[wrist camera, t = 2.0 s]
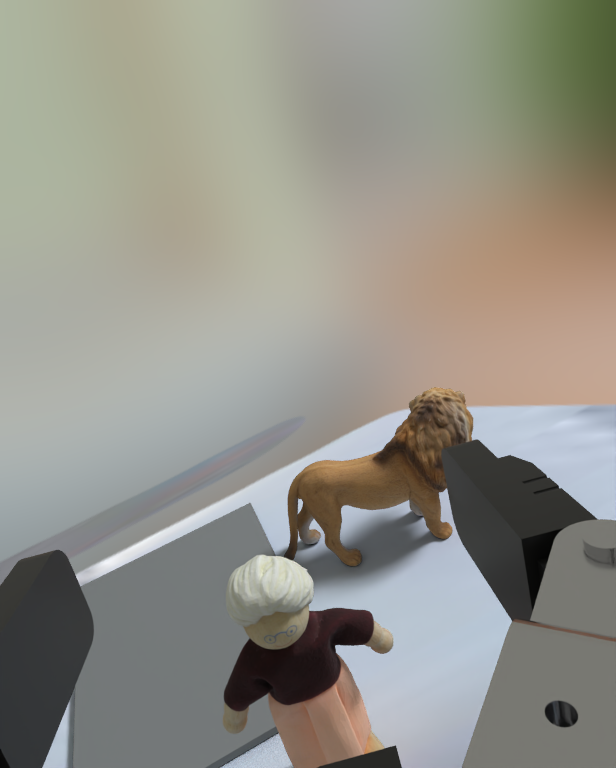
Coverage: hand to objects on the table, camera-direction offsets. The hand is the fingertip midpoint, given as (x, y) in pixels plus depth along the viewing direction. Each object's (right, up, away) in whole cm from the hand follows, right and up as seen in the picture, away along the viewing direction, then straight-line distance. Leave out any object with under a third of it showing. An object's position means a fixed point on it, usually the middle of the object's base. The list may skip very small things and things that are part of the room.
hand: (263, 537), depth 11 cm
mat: (-7, -13, +23) cm, 27 cm away
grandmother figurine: (+3, -14, +14) cm, 20 cm away
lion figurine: (+7, -7, +26) cm, 28 cm away
